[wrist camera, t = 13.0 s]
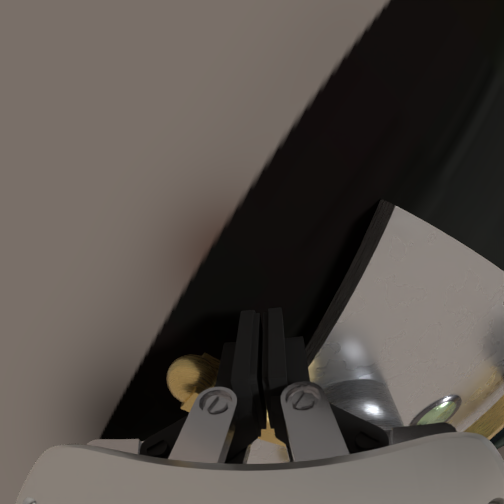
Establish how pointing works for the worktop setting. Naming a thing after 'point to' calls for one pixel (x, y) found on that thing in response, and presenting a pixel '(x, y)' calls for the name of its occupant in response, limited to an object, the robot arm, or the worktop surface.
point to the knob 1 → (204, 377)
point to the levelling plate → (412, 326)
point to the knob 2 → (489, 421)
